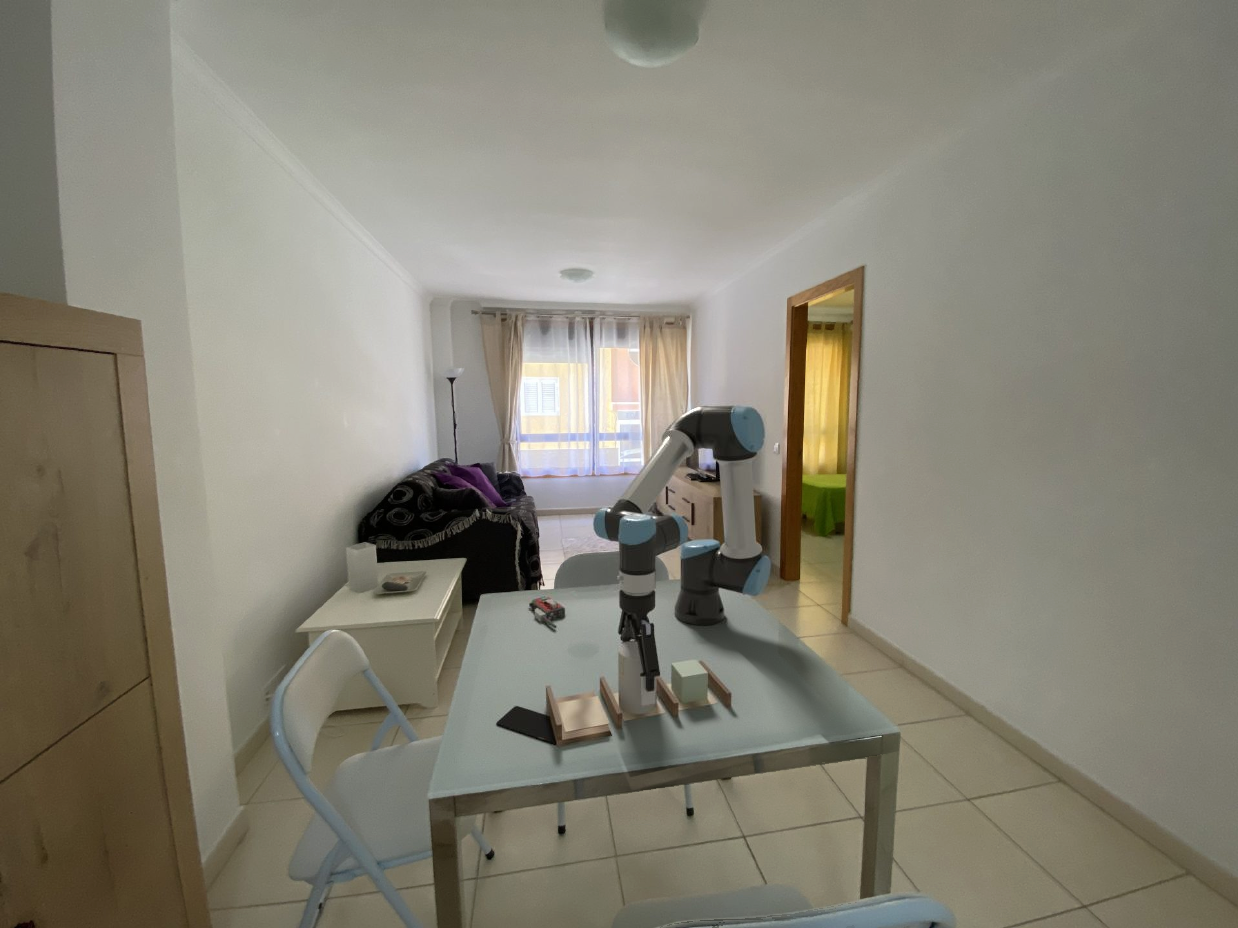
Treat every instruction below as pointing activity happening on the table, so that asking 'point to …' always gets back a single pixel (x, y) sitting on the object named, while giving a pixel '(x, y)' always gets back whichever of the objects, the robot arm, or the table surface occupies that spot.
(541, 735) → the smartphone
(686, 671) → the sage block
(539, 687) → the table surface
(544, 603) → the walkie-talkie
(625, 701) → the white cylinder
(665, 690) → the frame
